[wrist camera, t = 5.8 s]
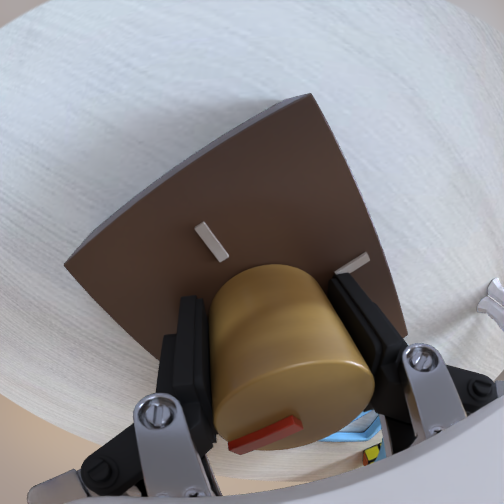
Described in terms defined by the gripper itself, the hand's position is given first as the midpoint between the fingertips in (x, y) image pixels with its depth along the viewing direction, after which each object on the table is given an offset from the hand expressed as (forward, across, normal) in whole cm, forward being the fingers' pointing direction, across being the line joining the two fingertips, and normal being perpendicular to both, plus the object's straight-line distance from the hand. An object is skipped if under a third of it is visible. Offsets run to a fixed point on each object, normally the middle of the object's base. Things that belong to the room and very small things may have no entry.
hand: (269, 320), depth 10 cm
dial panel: (+3, 0, 0) cm, 3 cm away
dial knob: (0, 0, 0) cm, 0 cm away
